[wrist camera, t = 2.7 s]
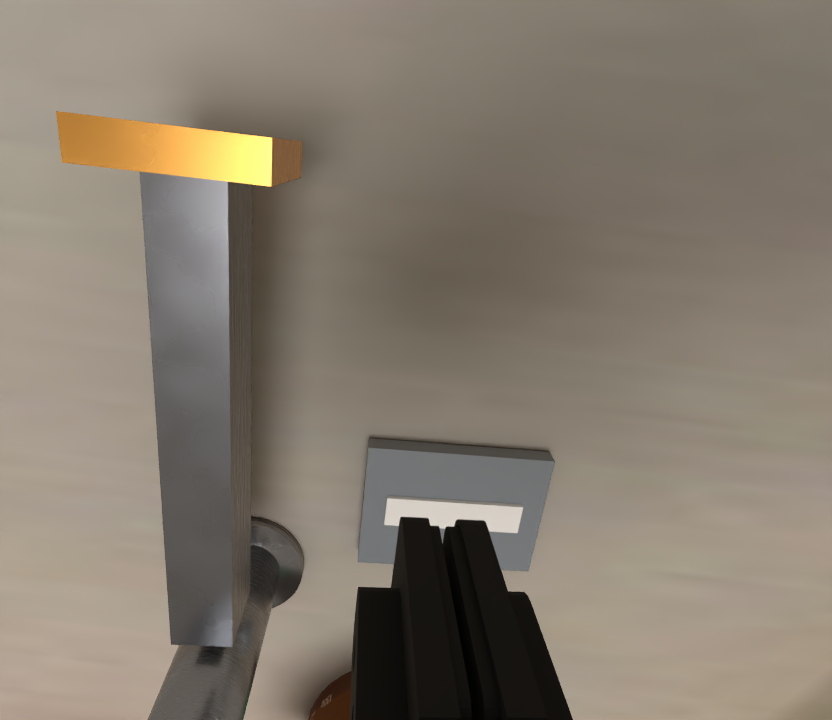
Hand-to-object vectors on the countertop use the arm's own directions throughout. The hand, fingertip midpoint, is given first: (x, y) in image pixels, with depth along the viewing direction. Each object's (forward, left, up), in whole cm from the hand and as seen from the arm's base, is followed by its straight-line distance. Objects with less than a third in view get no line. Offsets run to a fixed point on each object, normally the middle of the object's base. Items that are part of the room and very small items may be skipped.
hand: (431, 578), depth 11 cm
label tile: (-3, +7, -12) cm, 14 cm away
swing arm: (+6, 0, -9) cm, 11 cm away
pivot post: (+6, +11, -12) cm, 17 cm away
